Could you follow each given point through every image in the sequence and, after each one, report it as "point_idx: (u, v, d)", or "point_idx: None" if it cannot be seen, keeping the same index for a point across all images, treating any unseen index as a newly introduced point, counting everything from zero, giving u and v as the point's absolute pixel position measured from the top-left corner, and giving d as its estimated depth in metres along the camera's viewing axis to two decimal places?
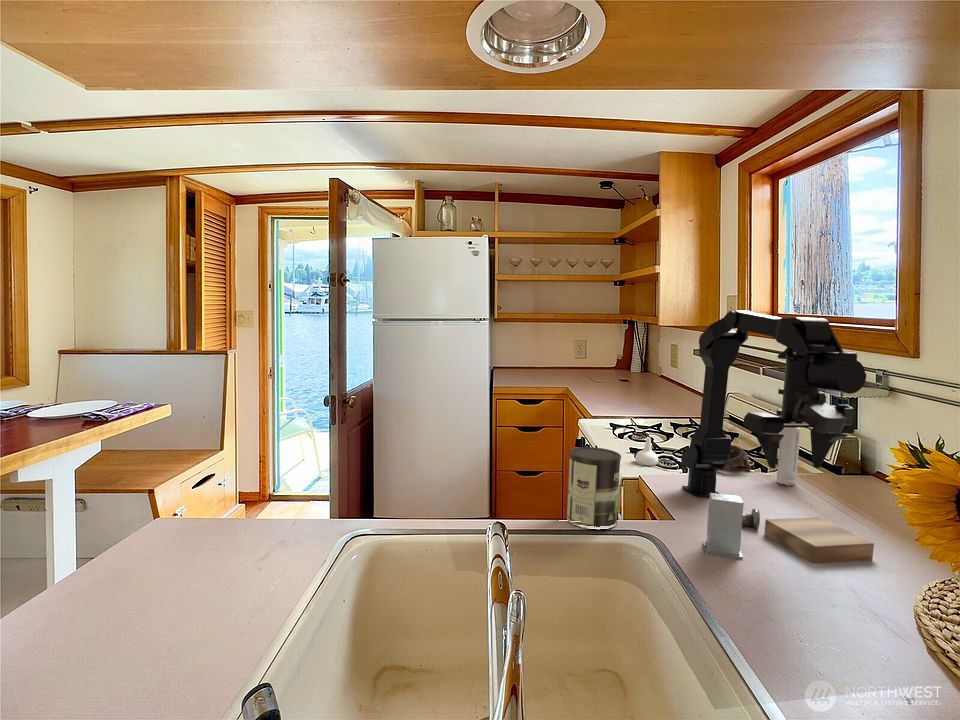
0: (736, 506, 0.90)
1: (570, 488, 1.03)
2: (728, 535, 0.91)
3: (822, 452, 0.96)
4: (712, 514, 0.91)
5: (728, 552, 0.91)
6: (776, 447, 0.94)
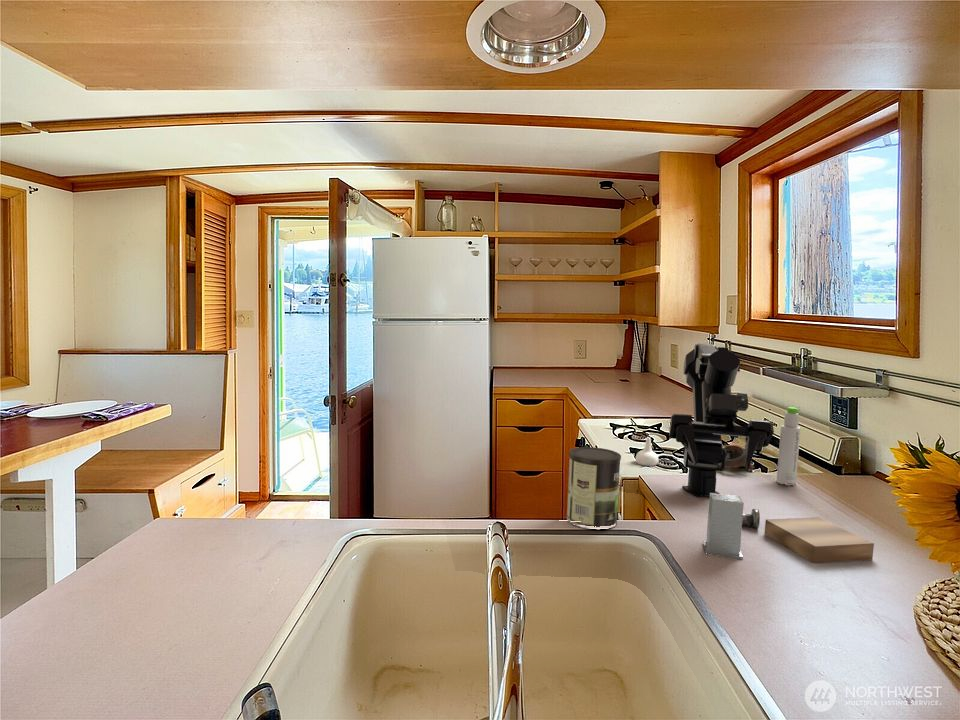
0: (736, 506, 0.90)
1: (570, 488, 1.03)
2: (728, 535, 0.91)
3: (747, 452, 0.99)
4: (712, 514, 0.91)
5: (728, 552, 0.91)
6: (693, 441, 1.02)
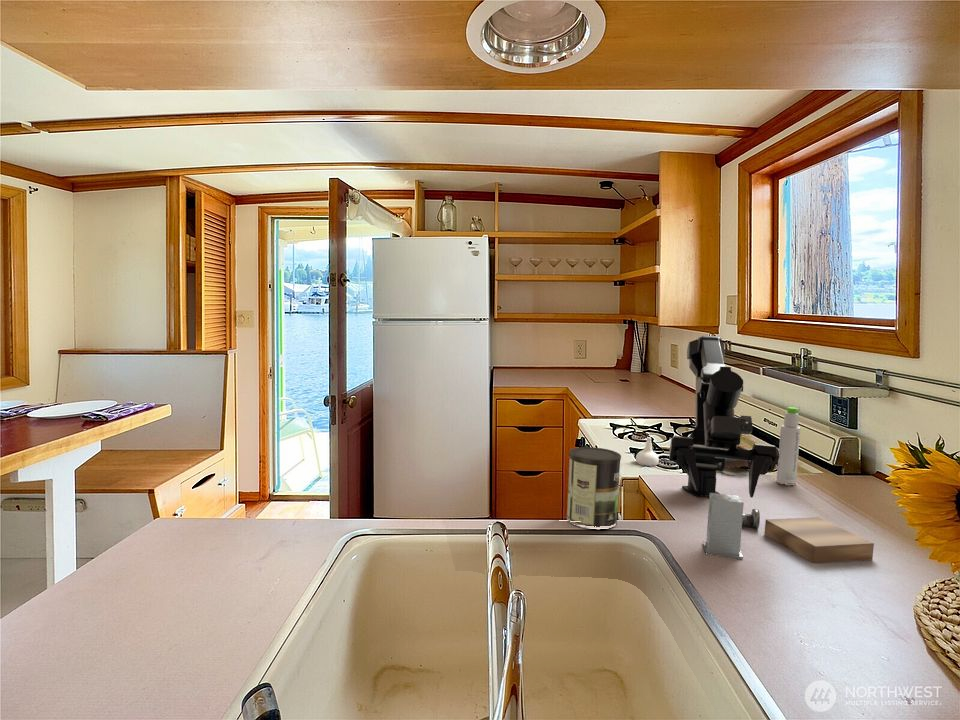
0: (736, 506, 0.90)
1: (570, 488, 1.03)
2: (728, 535, 0.91)
3: (751, 478, 0.94)
4: (712, 514, 0.91)
5: (728, 552, 0.91)
6: (694, 465, 0.97)
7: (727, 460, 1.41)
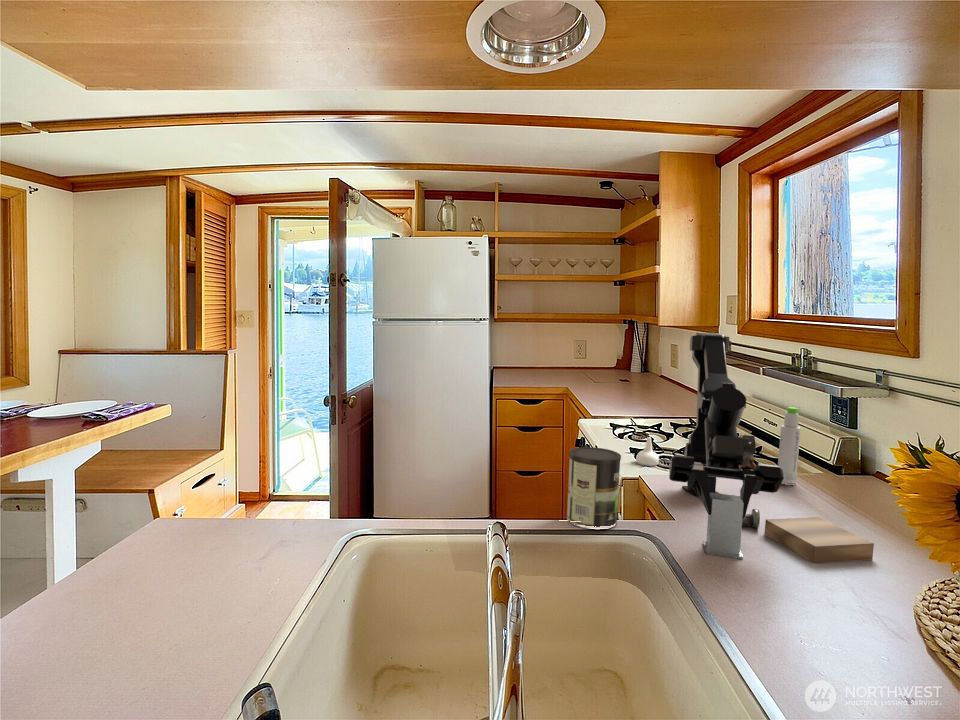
0: (736, 506, 0.90)
1: (570, 488, 1.03)
2: (728, 535, 0.91)
3: (743, 498, 0.91)
4: (712, 514, 0.91)
5: (728, 552, 0.91)
6: (706, 488, 0.93)
7: None
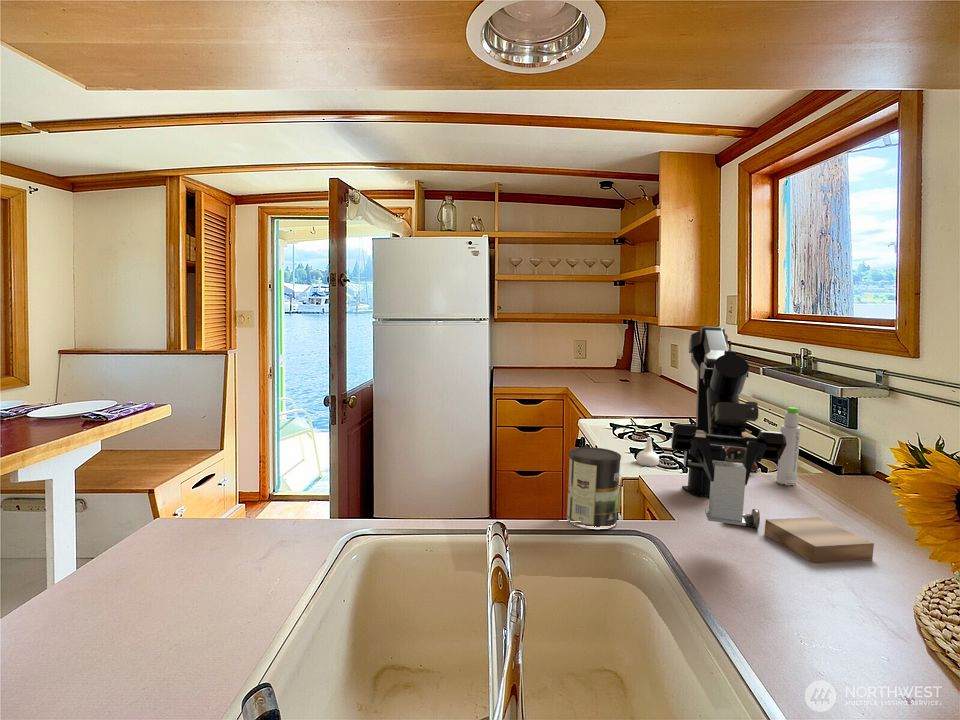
0: (739, 472, 0.89)
1: (570, 488, 1.03)
2: (731, 502, 0.90)
3: (745, 465, 0.91)
4: (714, 480, 0.91)
5: (731, 518, 0.90)
6: (709, 455, 0.93)
7: (731, 460, 1.41)
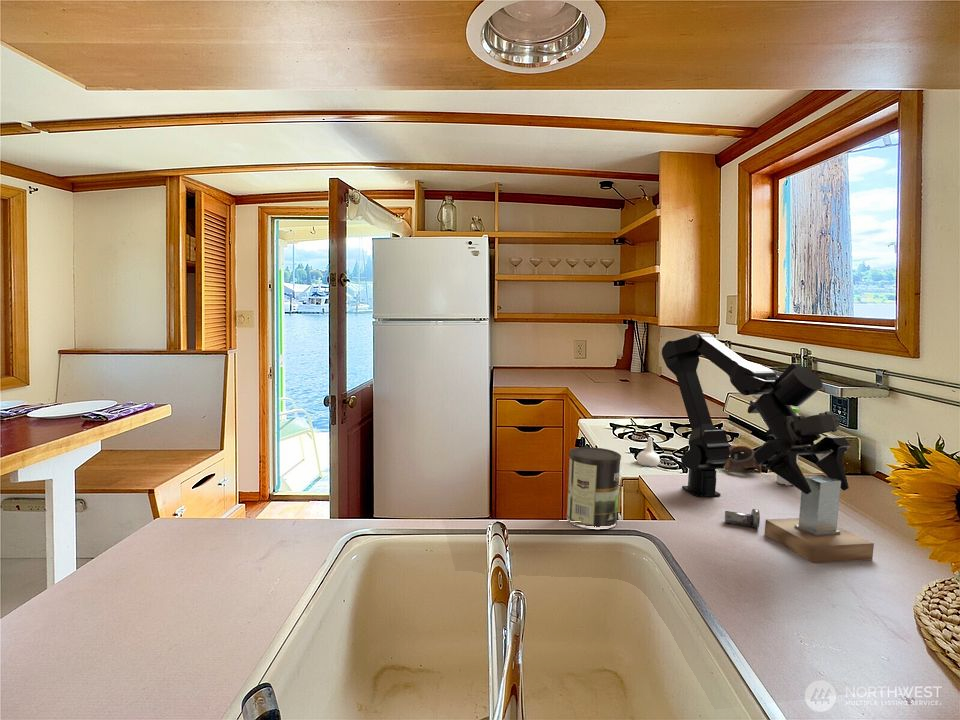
0: (836, 485, 0.94)
1: (570, 488, 1.03)
2: (830, 514, 0.94)
3: (839, 471, 0.97)
4: (820, 497, 0.93)
5: (829, 530, 0.94)
6: (798, 468, 0.94)
7: (735, 461, 1.41)
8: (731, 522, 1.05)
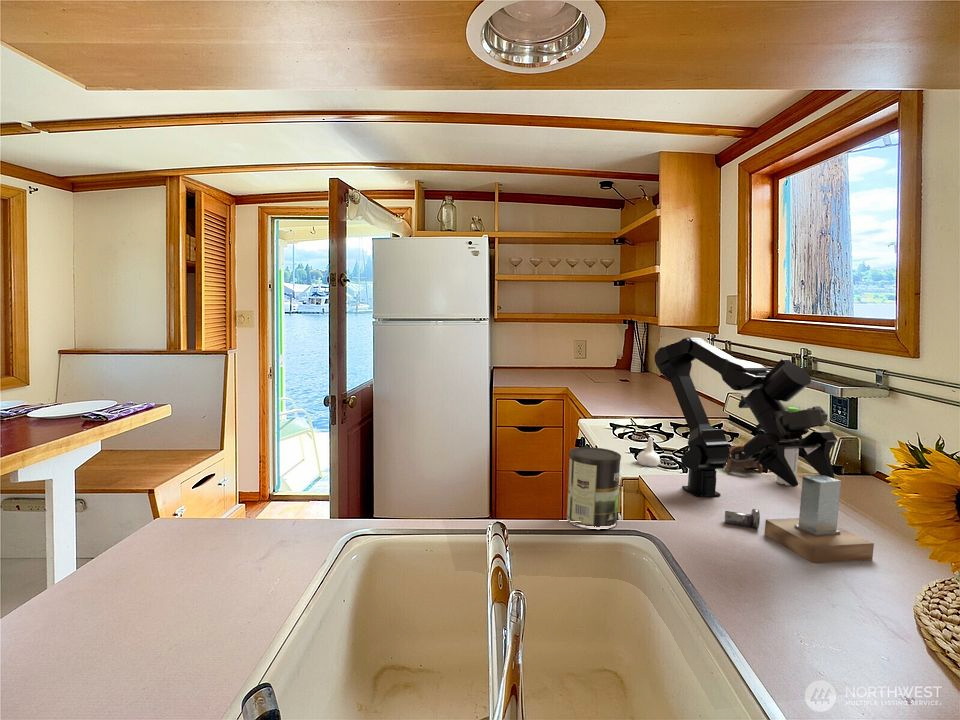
0: (836, 485, 0.94)
1: (570, 488, 1.03)
2: (830, 514, 0.94)
3: (826, 465, 0.99)
4: (820, 497, 0.93)
5: (829, 530, 0.94)
6: (786, 462, 0.97)
7: (736, 461, 1.41)
8: (731, 522, 1.05)
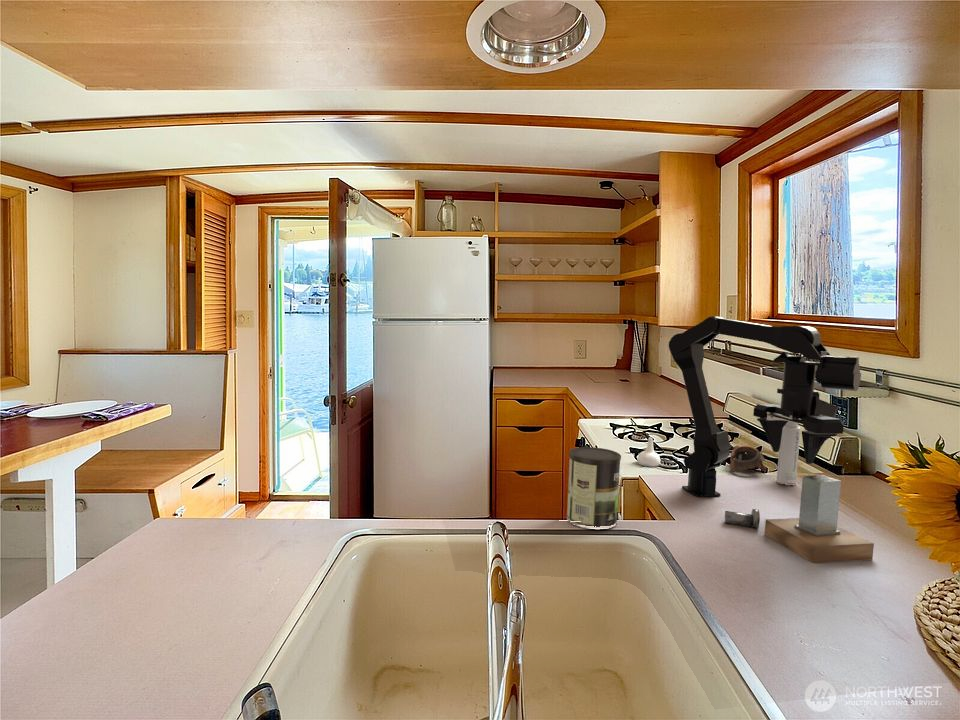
0: (836, 485, 0.94)
1: (570, 488, 1.03)
2: (830, 514, 0.94)
3: (780, 437, 1.14)
4: (820, 497, 0.93)
5: (829, 530, 0.94)
6: None
7: (740, 461, 1.41)
8: (731, 522, 1.05)
